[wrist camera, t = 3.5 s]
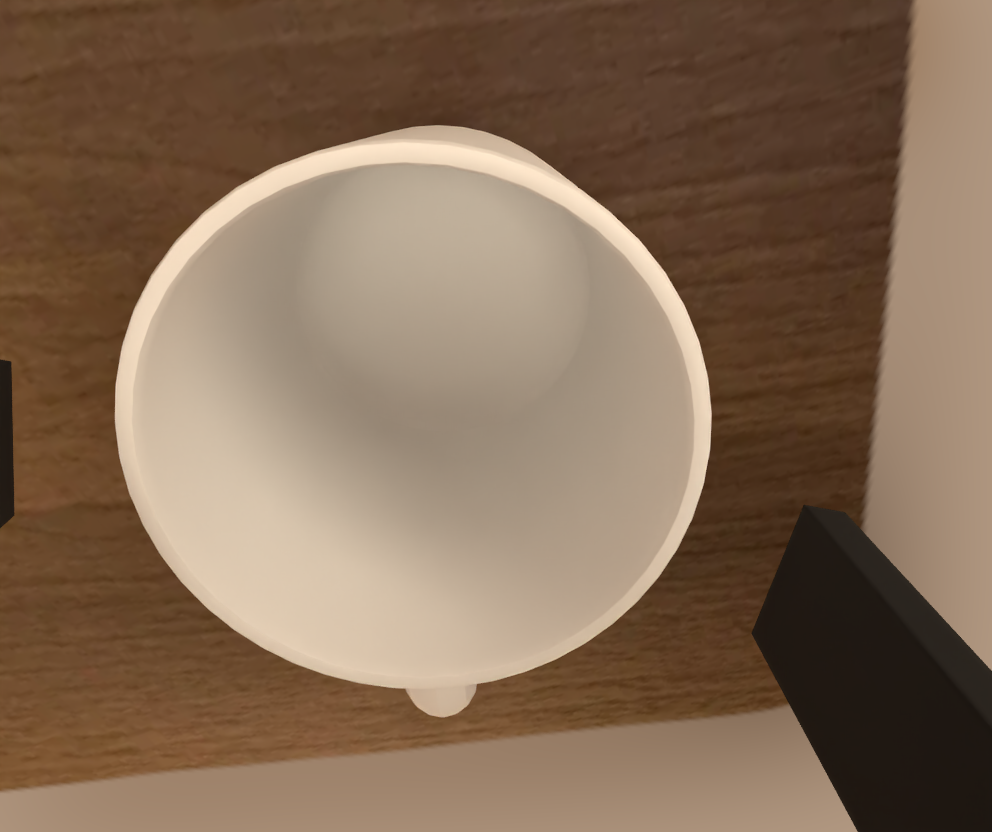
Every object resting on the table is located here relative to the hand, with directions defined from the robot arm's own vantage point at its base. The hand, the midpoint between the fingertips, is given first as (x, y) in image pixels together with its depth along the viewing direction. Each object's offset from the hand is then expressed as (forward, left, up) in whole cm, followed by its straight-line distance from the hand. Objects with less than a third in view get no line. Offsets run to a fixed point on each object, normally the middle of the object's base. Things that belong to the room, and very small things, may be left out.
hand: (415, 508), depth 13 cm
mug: (0, 0, -9) cm, 9 cm away
